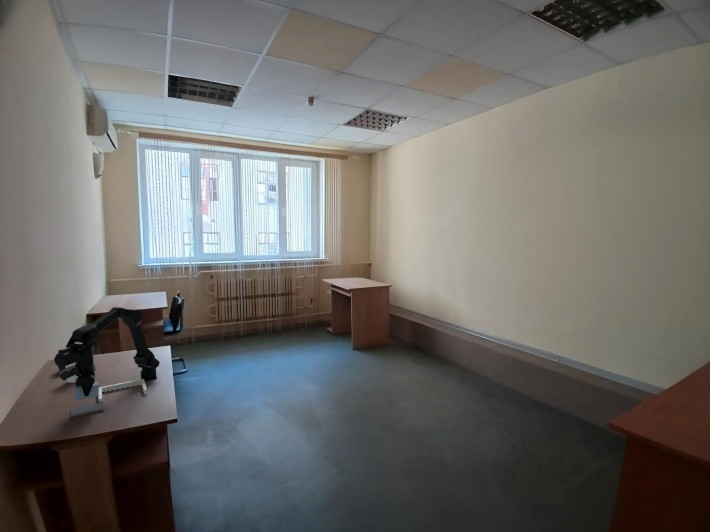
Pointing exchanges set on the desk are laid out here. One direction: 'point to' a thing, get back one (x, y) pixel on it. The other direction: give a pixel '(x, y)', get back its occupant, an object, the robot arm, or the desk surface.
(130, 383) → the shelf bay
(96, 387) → the blank block
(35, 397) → the desk surface
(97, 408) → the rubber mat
